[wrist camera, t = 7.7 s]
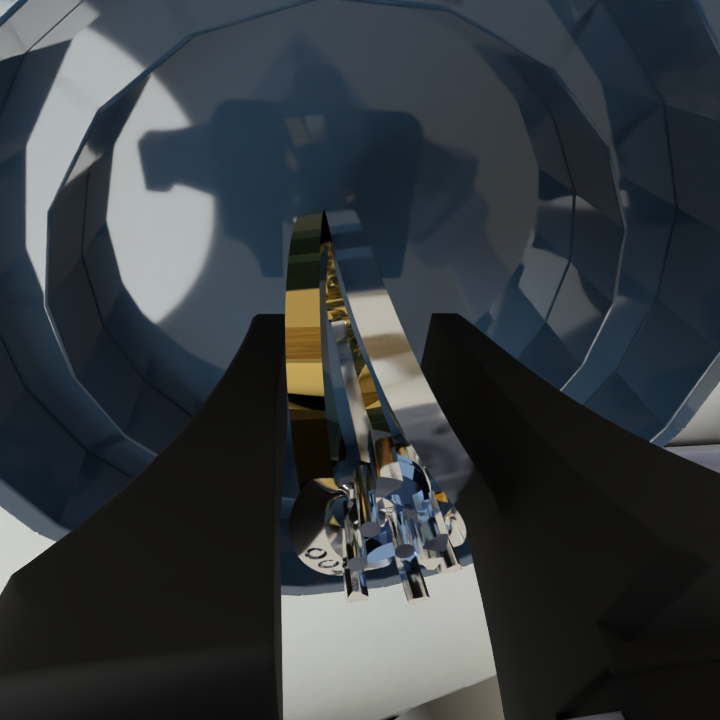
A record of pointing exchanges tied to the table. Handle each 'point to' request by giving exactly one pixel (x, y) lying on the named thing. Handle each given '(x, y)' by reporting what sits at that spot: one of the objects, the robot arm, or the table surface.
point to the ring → (367, 423)
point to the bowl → (339, 190)
